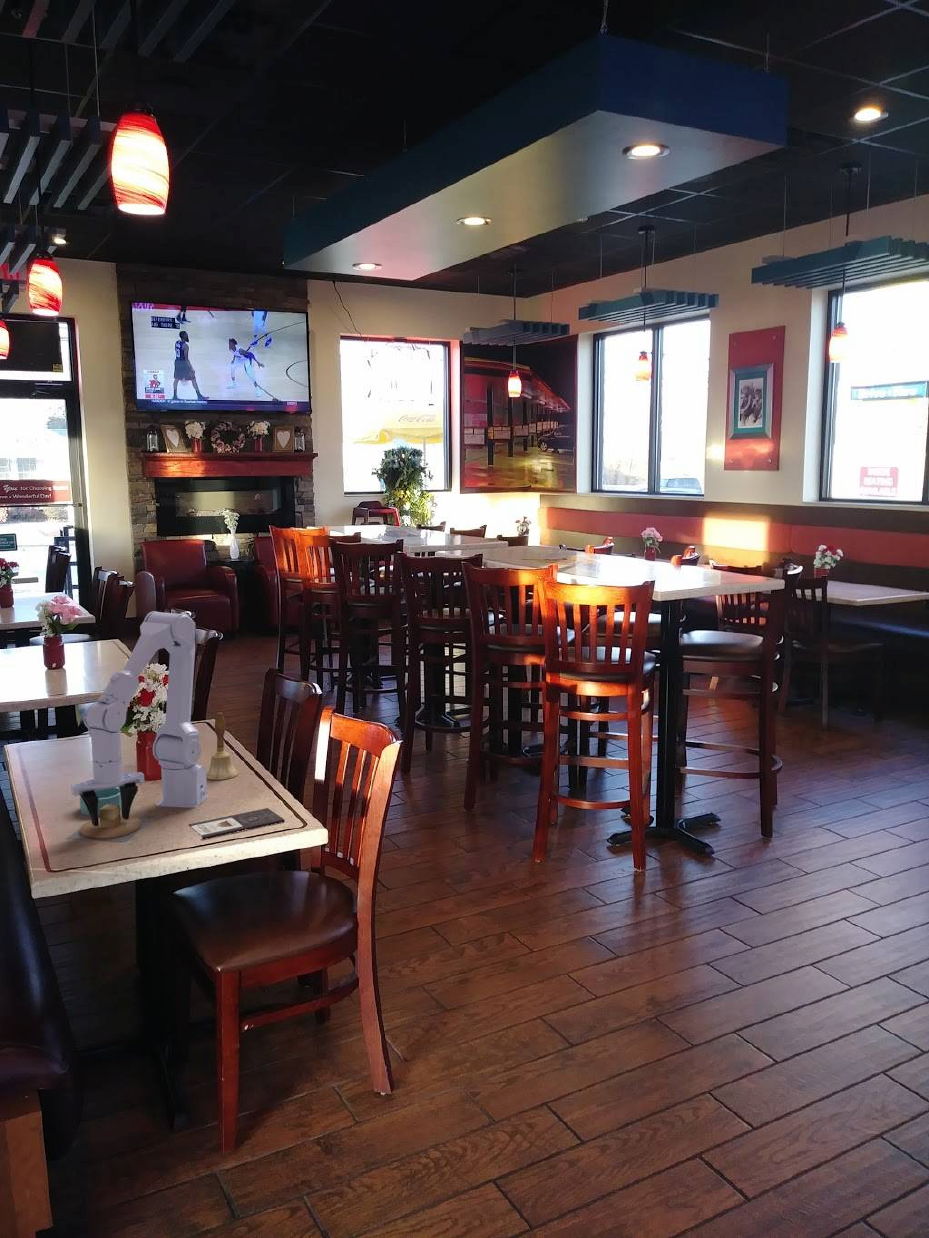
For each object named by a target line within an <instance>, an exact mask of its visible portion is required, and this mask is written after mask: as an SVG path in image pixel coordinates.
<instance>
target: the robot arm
mask: <svg viewBox="0 0 929 1238" xmlns="http://www.w3.org/2000/svg"><path fill="white" fill-rule="evenodd" d="M139 630H140V631H139V632H140V636H139V638H138V640H137V642H136V644H135V646H134V649H133V650H132V652H131V653H130V656H129V658H128V660H127V662H126V664H125V666H124V668H123V669H121V670H120V671H116V672H115V673H114V674H112V675H111V676H110V678H109V682H108V683H107V685H106V687H105V689H103V692H102V693H101V695H100V696H99V697H98V699H97V701H95V702H93V703H91V705H89V706H88V707H87V709H86V710H85V714H84V717H82V718H83V719H82V720H83V723H84V725H85V727H86V728H87V730H88V736H90V741H91V743H90V745H91V756H92V759H91V760H92V774H93V778H91V779H89V780H86V781H82V782H80V783H73V784H71V785H70V786H71V788H70V789H71V794H72V796H74V797H78V796H79V797H80V796H81V798H82V799H83V801H84V803H85V805H86V807H87V809H88V811H89V814H90V815H89V817H90V821H91V820H92V824H93V825H94V826H99V819H98V817H99V816H98V797H97V796H96V793H94V791H99V790H104V789H109V788H115V787H119V789H120V795H121V811H120V812H121V816H122V818H124V819H125V820H128V819H129V816H130V813H131V808H132V804H133V802H134V800H135V797H136V795H137V793H138V791H139V786H137V784H144V783H145V774H144V773H143V772H141V771H139V772H132V773H123V763H122V762H123V761H122V744H121V743H122V741H121V729H122V727H123V726H124V725H125V724H126V720H127V712H128V706H129V704H130V702H131V701H132V699H133V698H134V696H135V695H136V692H137V691H138V689H139V688H140V681H139V677H140V675H141V674H142V672H143V671H144V670H145V669H146V667H147V666H148V664H149V662H150V661H151V659H153V657H154V656H155V654H156V652H158V650H161V649H165V650H166V651H167V652H168V654H169V660H168V661H169V662H168V663H169V664H168V665H169V666H168V676H167V677H168V678H167V679H168V680H167V692H166V693H167V694H166V710H165V711H166V712H165V722H164V723H163V724H162V725H161V726H159V727H158V728H157V729H156V736H155V739H154V741H153V744H152V755H153V757H154V758H155V760H157V761H158V765H159V766H160V768H161V786H162V787H161V789H162V791H161V792H162V799H161V800H160V801H159V802H157V803H156V804H155V807H166V808H167V807H169V808H191V809H195V808H197V807H199V805H201V804H202V803H203V802H204V801H205V800H207V799H208V798H209V795H208V791H207V790H208V787H207V785H208V780H207V778H206V772H207V770H206V767H205V766H203V765H200V764H198V763H197V762H199V759H200V758H201V754H202V745H201V741H200V732H199V731H198V729H197V728H196V727H195V726H194V725H193V724H192V723H191V719H192V716H191V715H192V703H193V689H194V673H195V672H194V671H195V658H196V657H195V655H196V643H195V640H196V639H195V638H196V636H195V635H196V622H195V621H194V620H193V619H192V618H191V616H190V615H188V614H187V613H172V612H161V611H156V610H153V611H150V612H149V613H147V614H146V616H145V617H144V620H143V622H142V623H141V624H140V626H139Z"/></svg>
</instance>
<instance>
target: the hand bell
mask: <svg viewBox="0 0 929 1238" xmlns="http://www.w3.org/2000/svg"><path fill="white" fill-rule="evenodd" d="M214 731H215V732H214V733H215V734H216V751H215V752H213V753H212V754H211V755H210V756H211V758H210V765H209V767H208V770H206V780H207V779H208V780H212V781H213V780H214V781H216V780H218V781H220V780H221V781H222V780H228V779H232V778H235V777H237V776H238V775H239V772H238V770H237V769H235V767H234V766H233V763H232V761H231V760H232V759H231V754H230V753H229V752H227V751H225V748H224V747H225V745H224V744H225V742H224V736H225V732H226V720H225V717H224V714H223V712H221V711H220V712H217V713H216V717H215V719H214Z"/></svg>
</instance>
